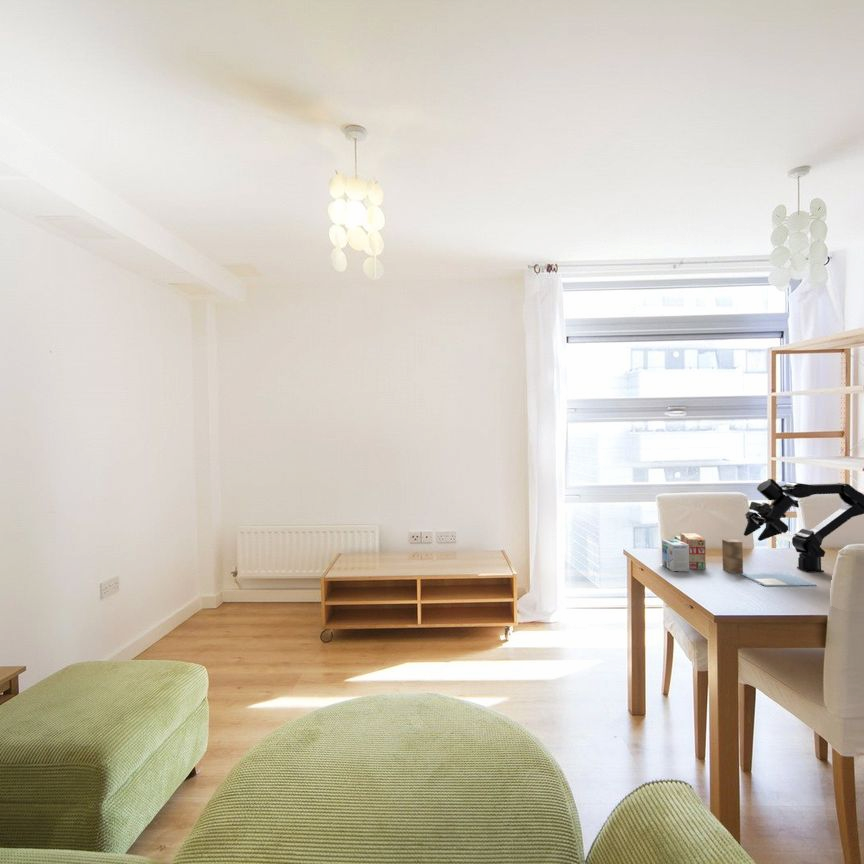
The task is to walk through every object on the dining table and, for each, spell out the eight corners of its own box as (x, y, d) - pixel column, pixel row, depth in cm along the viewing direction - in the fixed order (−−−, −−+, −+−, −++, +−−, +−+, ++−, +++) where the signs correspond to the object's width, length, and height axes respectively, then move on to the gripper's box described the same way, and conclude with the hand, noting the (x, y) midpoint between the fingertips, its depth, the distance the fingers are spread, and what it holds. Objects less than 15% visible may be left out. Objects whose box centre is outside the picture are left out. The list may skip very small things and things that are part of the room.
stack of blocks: (675, 556, 225) (674, 528, 225) (690, 556, 224) (689, 529, 224) (689, 569, 204) (688, 538, 204) (706, 569, 203) (705, 539, 203)
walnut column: (735, 569, 202) (734, 539, 202) (742, 572, 197) (742, 542, 197) (722, 569, 202) (722, 539, 202) (729, 573, 197) (729, 542, 197)
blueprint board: (787, 574, 194) (787, 572, 194) (816, 585, 179) (816, 584, 179) (740, 574, 194) (740, 573, 194) (764, 586, 179) (764, 584, 179)
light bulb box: (661, 565, 210) (661, 539, 210) (678, 565, 210) (677, 539, 210) (673, 572, 200) (672, 544, 200) (690, 572, 199) (689, 544, 199)
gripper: (748, 491, 208) (723, 519, 209) (778, 497, 190) (750, 528, 190) (769, 509, 208) (743, 538, 208) (800, 517, 190) (772, 548, 190)
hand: (751, 537), depth 199 cm, fingers open, 9 cm apart
